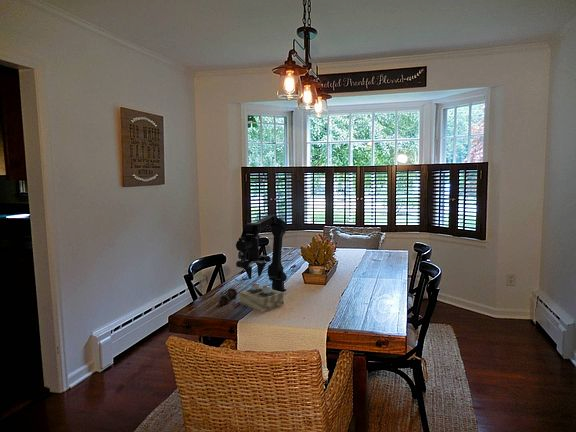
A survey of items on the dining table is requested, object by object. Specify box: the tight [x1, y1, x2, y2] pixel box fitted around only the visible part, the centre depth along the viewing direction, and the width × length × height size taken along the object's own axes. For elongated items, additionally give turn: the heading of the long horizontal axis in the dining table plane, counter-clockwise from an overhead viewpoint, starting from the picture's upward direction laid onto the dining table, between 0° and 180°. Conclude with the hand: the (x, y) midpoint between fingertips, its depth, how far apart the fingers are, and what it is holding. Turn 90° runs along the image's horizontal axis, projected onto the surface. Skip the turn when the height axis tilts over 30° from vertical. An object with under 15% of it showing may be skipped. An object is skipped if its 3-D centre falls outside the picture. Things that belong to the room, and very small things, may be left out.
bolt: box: [218, 287, 238, 306], centre depth 220 cm, size 6×5×15 cm
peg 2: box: [262, 284, 272, 296], centre depth 209 cm, size 4×4×6 cm
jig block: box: [238, 285, 285, 312], centre depth 213 cm, size 14×18×6 cm
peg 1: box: [250, 281, 260, 292], centre depth 216 cm, size 4×4×6 cm
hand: (254, 277), depth 215 cm, fingers open, 6 cm apart
